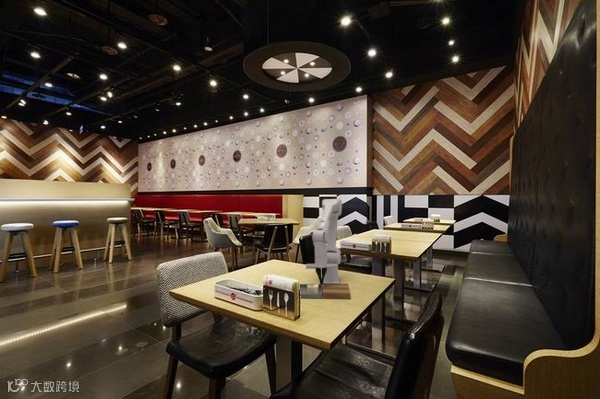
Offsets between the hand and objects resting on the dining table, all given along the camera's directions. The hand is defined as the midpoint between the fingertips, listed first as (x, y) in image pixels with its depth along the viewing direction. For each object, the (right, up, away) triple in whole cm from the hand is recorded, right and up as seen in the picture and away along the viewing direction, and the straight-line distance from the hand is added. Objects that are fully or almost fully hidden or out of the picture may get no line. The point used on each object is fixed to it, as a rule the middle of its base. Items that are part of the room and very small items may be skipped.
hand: (321, 283), depth 126 cm
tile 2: (-5, -1, +1) cm, 5 cm away
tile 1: (-2, -1, -6) cm, 6 cm away
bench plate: (+6, -3, -4) cm, 8 cm away
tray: (-6, -4, -2) cm, 7 cm away
